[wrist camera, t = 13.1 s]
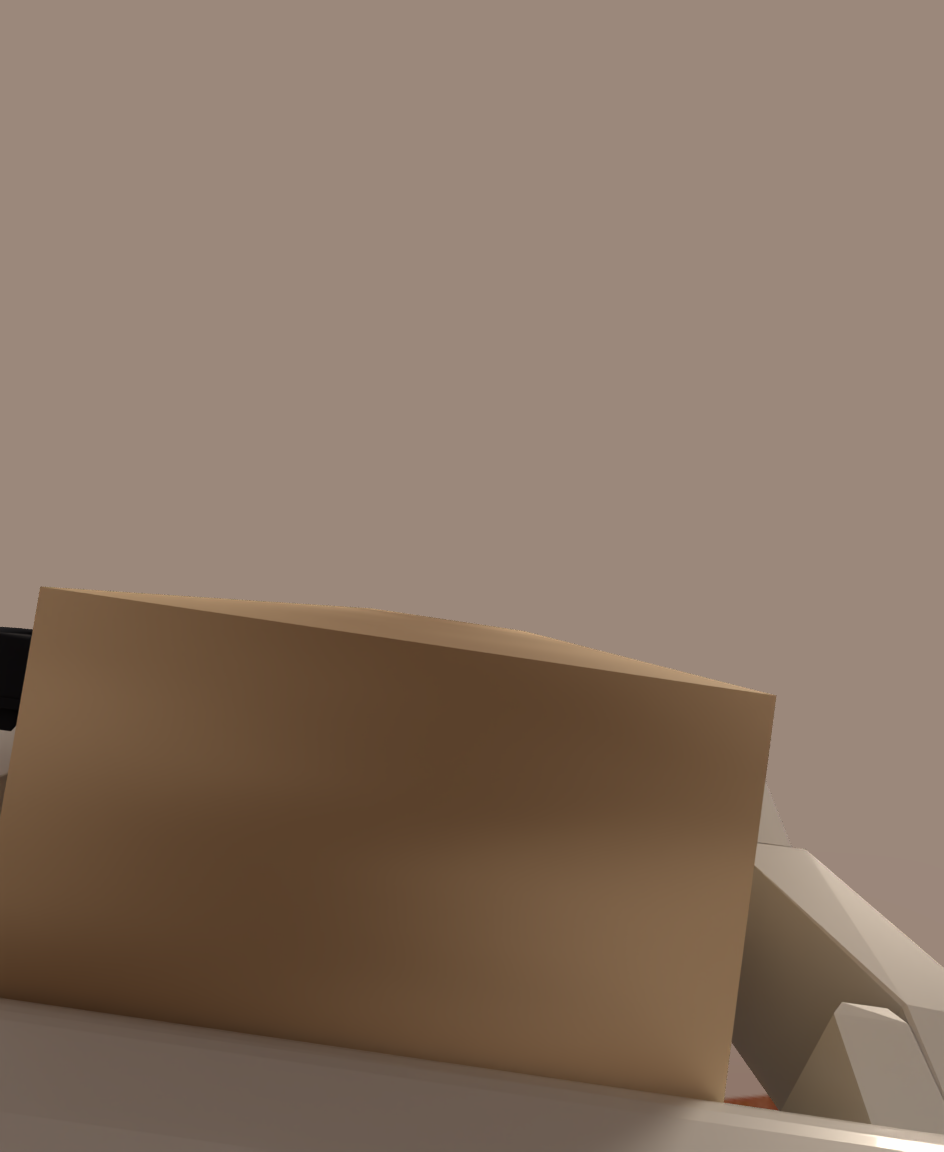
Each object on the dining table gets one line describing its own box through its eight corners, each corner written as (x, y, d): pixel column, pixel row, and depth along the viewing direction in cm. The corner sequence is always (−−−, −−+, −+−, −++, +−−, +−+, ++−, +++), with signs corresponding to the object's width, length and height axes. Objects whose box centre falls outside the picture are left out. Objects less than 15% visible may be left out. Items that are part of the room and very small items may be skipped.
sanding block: (506, 753, 24) (523, 631, 24) (696, 1304, 5) (776, 696, 5) (352, 731, 24) (371, 608, 24) (-68, 1200, 5) (40, 587, 5)
